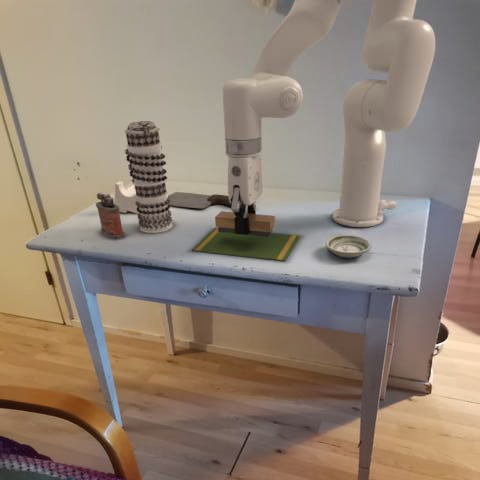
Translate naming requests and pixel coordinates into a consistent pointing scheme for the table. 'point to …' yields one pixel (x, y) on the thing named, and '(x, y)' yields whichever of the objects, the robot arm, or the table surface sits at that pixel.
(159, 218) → the decorative candle
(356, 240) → the saucer
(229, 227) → the chalkboard eraser
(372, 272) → the table surface
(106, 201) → the lighter
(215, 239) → the cloth
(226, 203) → the cleaver
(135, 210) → the bracket
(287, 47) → the robot arm
